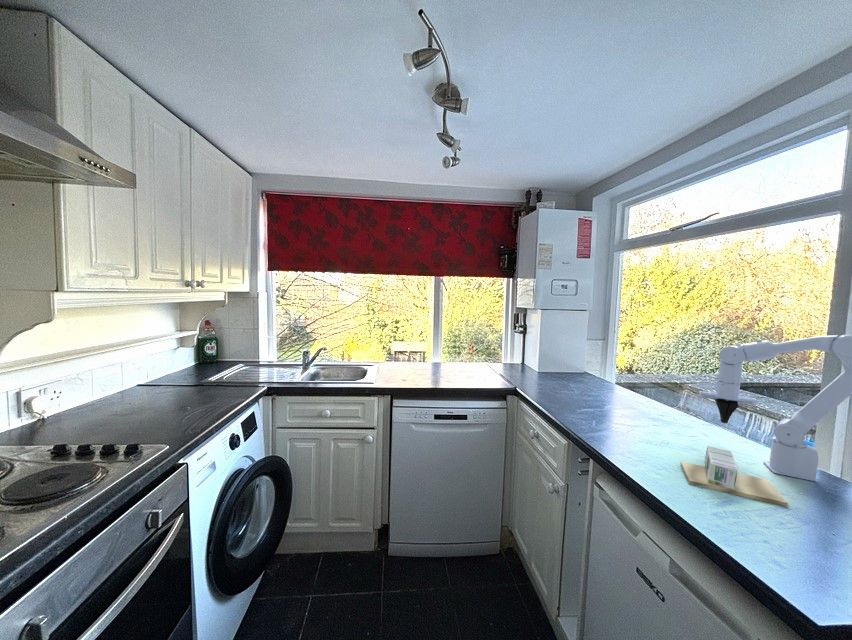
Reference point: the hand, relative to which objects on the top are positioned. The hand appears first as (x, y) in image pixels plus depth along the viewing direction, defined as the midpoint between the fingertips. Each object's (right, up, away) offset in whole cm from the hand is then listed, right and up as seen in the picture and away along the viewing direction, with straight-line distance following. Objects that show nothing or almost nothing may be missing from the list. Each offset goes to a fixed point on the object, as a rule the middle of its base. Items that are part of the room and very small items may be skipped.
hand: (723, 422), depth 118 cm
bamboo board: (-15, -11, -20) cm, 27 cm away
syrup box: (-12, -7, -12) cm, 18 cm away
